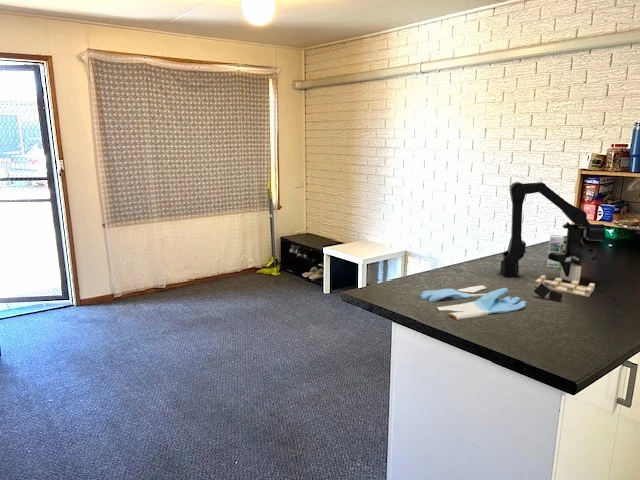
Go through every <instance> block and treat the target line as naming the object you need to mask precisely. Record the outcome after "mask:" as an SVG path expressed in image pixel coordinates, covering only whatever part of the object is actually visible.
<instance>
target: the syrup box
mask: <svg viewBox="0 0 640 480" xmlns="http://www.w3.org/2000/svg"><path fill="white" fill-rule="evenodd" d="M564 241H565V235H561V234H549V241H548V242H549V244H548V253H547V256H548V255H549V253H550V252H559V253H562V254H563V249H564ZM561 266H562V265H561V263H560V262H556V261H553V260H550V259H548V258H547V261H546V267H548V268H555V269H556V268H557V269H561Z"/></svg>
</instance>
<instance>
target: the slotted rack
mask: <svg viewBox="0 0 640 480" xmlns="http://www.w3.org/2000/svg"><path fill="white" fill-rule="evenodd" d="M542 282H543V283H545V282H548V283H549V284H551V285H550V286H549V288H551V290H553V291H556V292H559V293H567V294H573V295H577V296H582V297H589V298H590V296H591V295H592V293H593V292H594V290H595V284H596V283H593V282H590V283H589V284H588V286H586V285H579V284H580V282H579V281H576V280H573V281H572V282H570V283H568V282H563V279H562V278H560V277H555V279H554V280H550V279H547V275H545V274H544V275H542V274H541V275H540V277H538V278H537V279H536V280H535V281H534V285H533V288H537V287H538V286H539V285H540V284H541V283H542Z"/></svg>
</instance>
